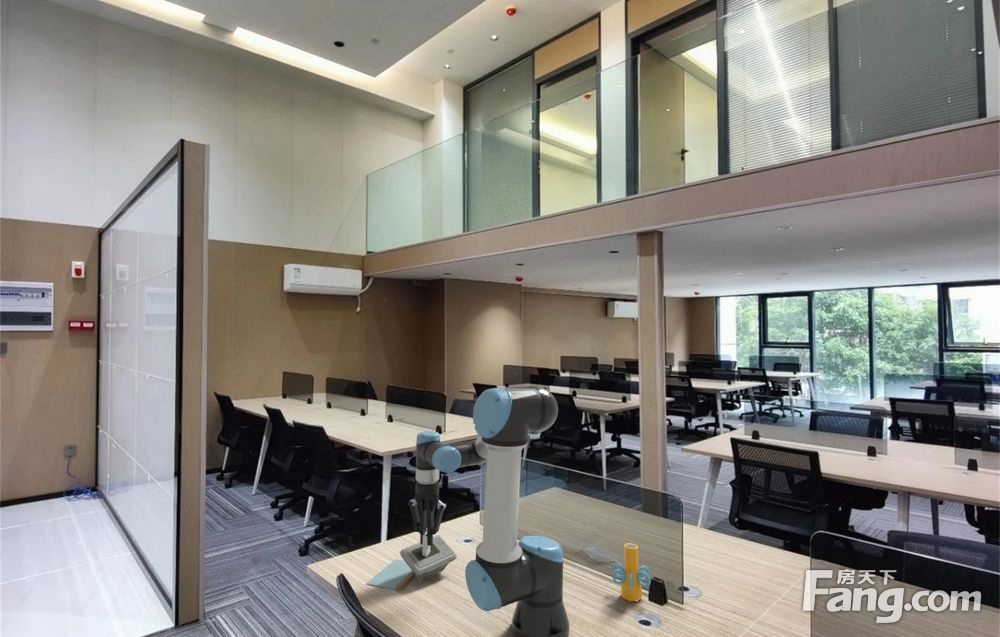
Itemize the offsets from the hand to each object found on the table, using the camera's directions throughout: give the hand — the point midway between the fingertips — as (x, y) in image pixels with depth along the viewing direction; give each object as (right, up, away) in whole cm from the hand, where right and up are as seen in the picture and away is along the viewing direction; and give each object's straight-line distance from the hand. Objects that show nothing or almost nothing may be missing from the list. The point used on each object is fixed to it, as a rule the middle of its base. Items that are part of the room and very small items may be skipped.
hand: (426, 554), depth 157 cm
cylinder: (+63, -8, -11) cm, 64 cm away
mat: (-10, -7, +2) cm, 12 cm away
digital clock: (+4, -4, -2) cm, 6 cm away
